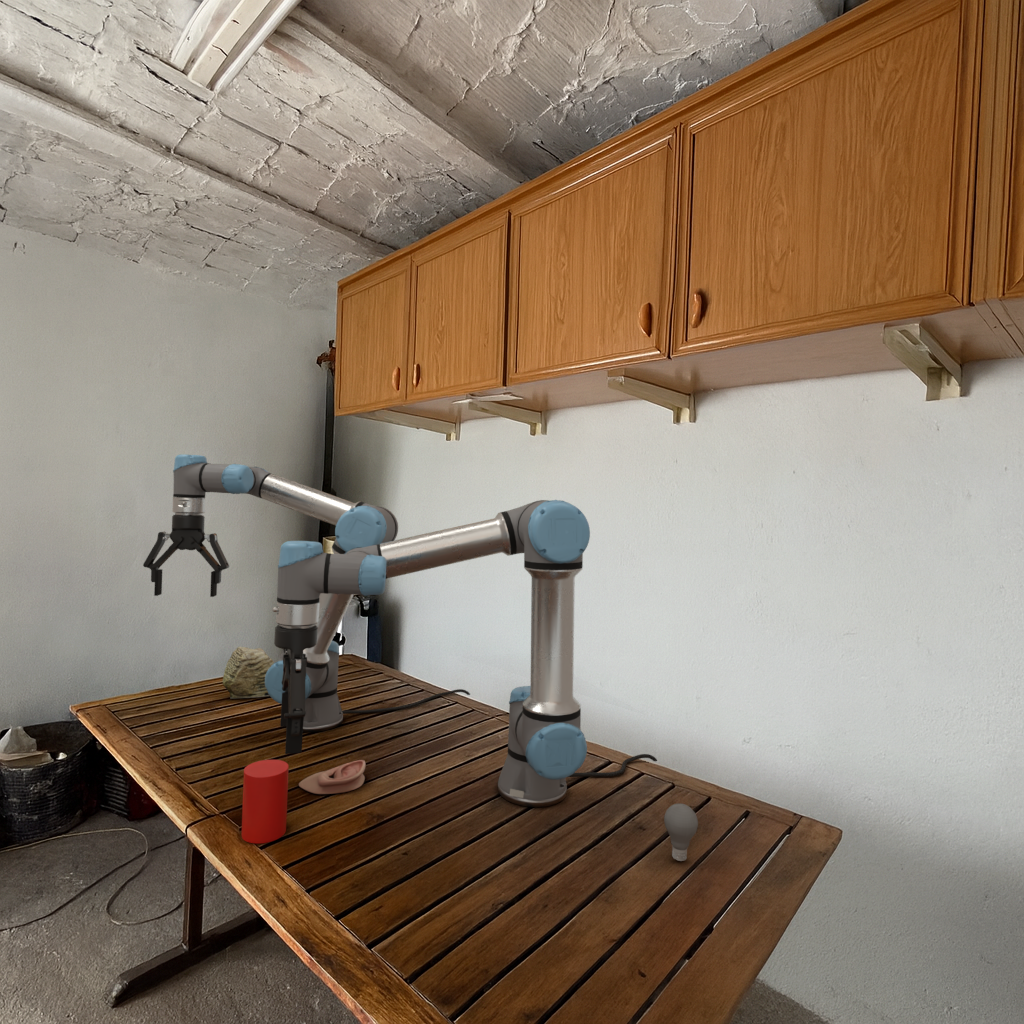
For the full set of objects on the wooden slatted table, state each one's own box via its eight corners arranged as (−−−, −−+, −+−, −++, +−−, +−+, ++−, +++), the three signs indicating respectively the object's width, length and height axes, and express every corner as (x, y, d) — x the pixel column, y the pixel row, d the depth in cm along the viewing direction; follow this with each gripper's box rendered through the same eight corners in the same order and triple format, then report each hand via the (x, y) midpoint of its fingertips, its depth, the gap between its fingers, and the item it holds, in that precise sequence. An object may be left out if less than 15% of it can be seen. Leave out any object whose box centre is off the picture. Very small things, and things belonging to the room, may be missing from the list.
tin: (268, 847, 114) (270, 780, 114) (231, 838, 116) (234, 772, 116) (294, 826, 122) (297, 763, 121) (260, 818, 124) (262, 756, 124)
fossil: (218, 695, 195) (220, 647, 195) (278, 685, 208) (279, 640, 207) (228, 703, 189) (230, 653, 188) (289, 692, 201) (290, 645, 201)
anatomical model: (291, 772, 135) (318, 751, 147) (291, 790, 136) (317, 768, 147) (349, 780, 133) (372, 758, 144) (348, 799, 133) (371, 776, 144)
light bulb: (658, 850, 118) (660, 797, 118) (689, 850, 119) (691, 797, 119) (668, 869, 112) (671, 813, 112) (701, 868, 113) (704, 813, 113)
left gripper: (130, 512, 159) (127, 596, 160) (235, 516, 163) (232, 598, 163) (143, 511, 167) (140, 592, 167) (242, 515, 170) (240, 594, 171)
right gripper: (271, 612, 127) (265, 717, 127) (279, 640, 104) (272, 768, 105) (310, 612, 130) (304, 714, 130) (326, 638, 107) (319, 763, 108)
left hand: (185, 595), depth 165 cm, fingers open, 13 cm apart
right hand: (290, 738), depth 117 cm, fingers open, 13 cm apart
